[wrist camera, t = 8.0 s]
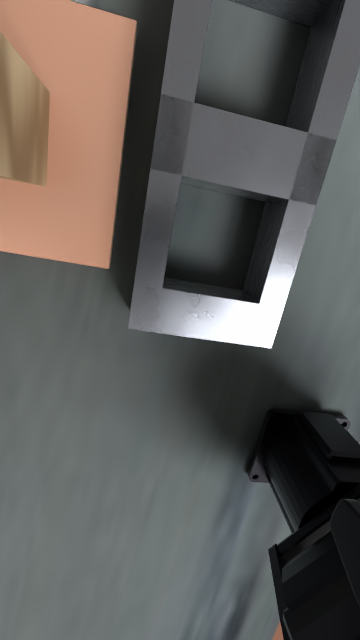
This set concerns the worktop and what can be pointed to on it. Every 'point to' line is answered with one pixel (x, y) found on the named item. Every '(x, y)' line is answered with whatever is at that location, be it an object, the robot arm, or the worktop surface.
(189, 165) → the grey slotted holder
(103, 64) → the terracotta tile
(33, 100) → the maple peg
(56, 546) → the worktop surface
